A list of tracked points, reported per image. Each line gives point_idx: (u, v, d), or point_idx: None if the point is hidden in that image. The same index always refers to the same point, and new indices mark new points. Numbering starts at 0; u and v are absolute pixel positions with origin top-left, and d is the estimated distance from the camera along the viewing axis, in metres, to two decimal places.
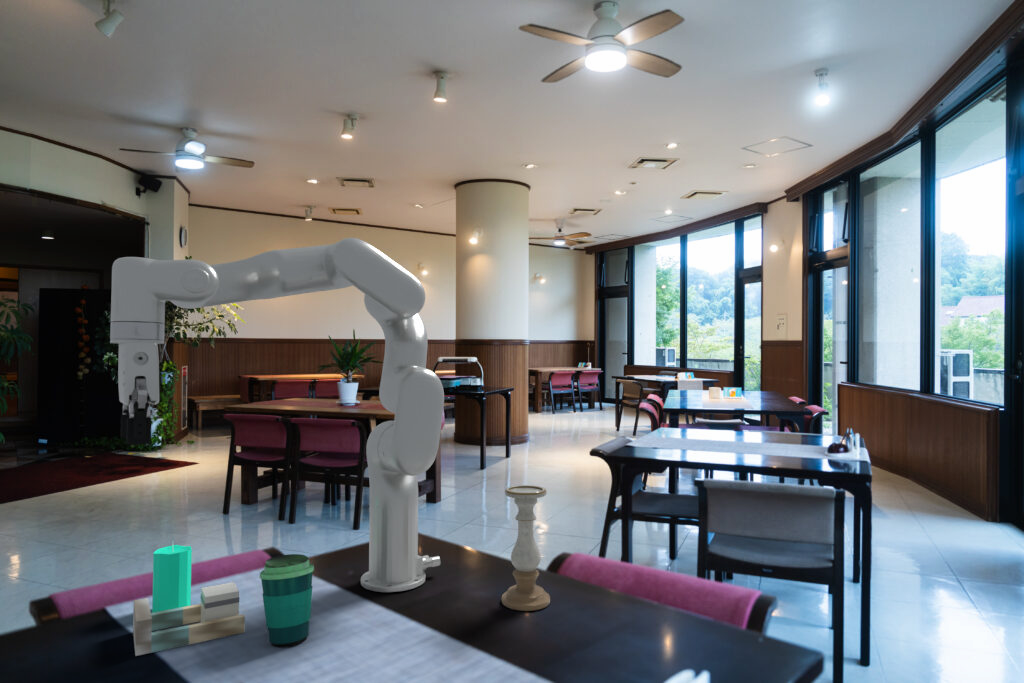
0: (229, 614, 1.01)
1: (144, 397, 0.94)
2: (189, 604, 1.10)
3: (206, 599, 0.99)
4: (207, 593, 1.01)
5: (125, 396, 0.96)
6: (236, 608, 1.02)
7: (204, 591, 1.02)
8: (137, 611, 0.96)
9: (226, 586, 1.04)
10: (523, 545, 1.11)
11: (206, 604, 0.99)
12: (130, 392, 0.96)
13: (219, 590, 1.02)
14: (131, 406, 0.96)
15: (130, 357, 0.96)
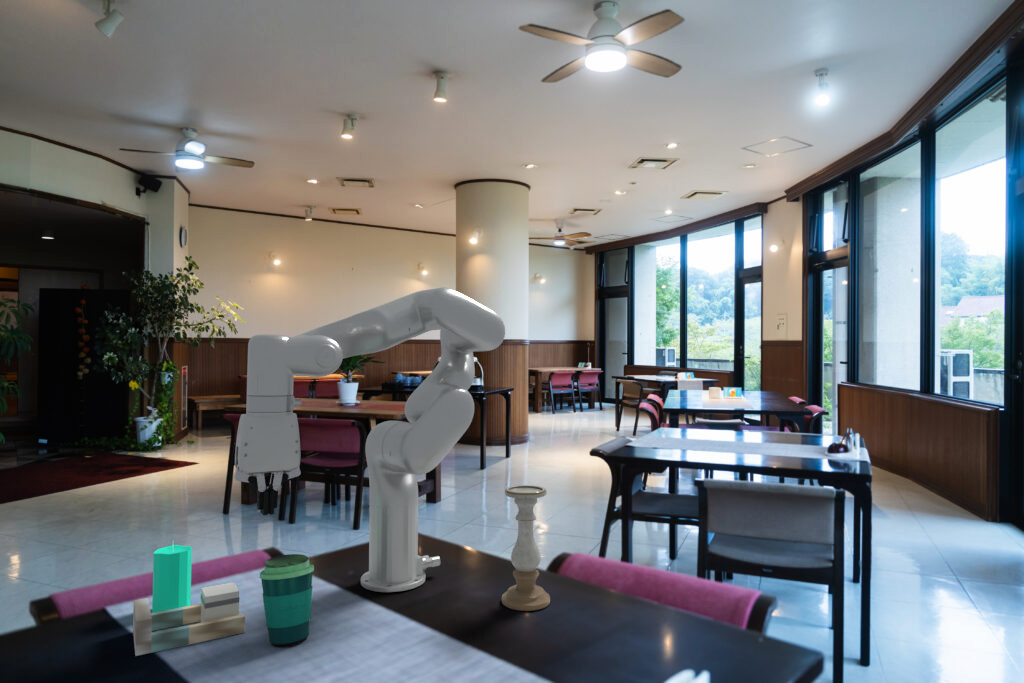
0: (229, 614, 1.01)
1: None
2: (189, 604, 1.10)
3: (206, 599, 0.99)
4: (207, 593, 1.01)
5: (298, 462, 1.08)
6: (236, 608, 1.02)
7: (204, 591, 1.02)
8: (137, 611, 0.96)
9: (226, 586, 1.04)
10: (523, 545, 1.11)
11: (206, 604, 0.99)
12: None
13: (219, 590, 1.02)
14: (281, 480, 1.08)
15: (298, 427, 1.09)
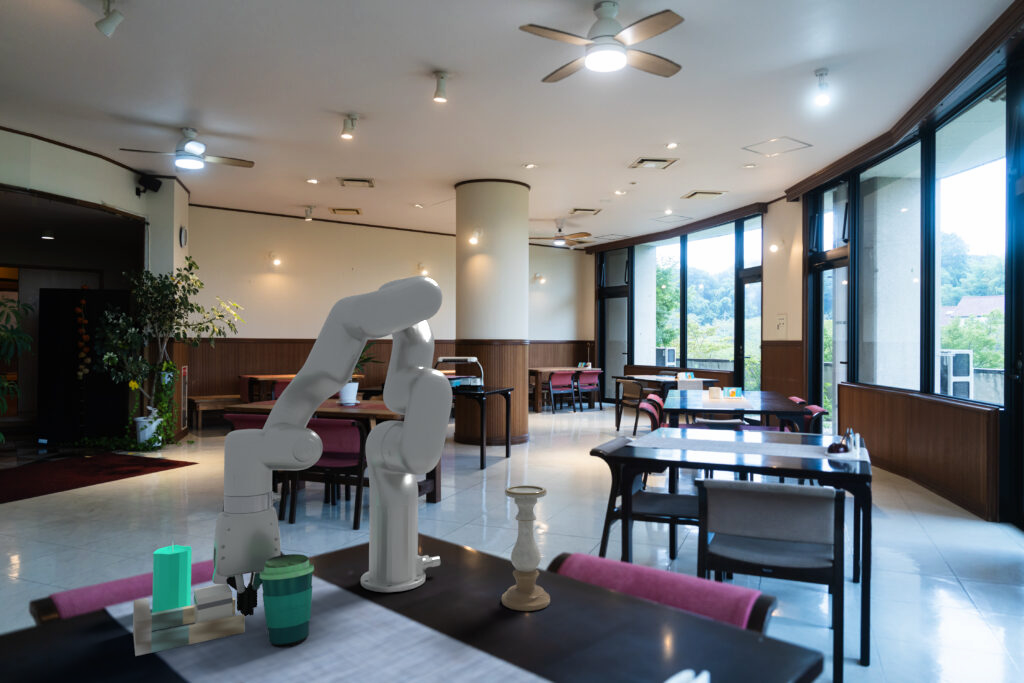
0: (223, 614, 1.01)
1: None
2: (189, 604, 1.10)
3: (199, 600, 0.99)
4: (200, 594, 1.01)
5: None
6: (229, 609, 1.01)
7: (197, 592, 1.01)
8: (137, 611, 0.96)
9: (219, 587, 1.04)
10: (523, 545, 1.11)
11: (199, 605, 0.99)
12: None
13: (212, 591, 1.02)
14: (260, 579, 1.05)
15: None
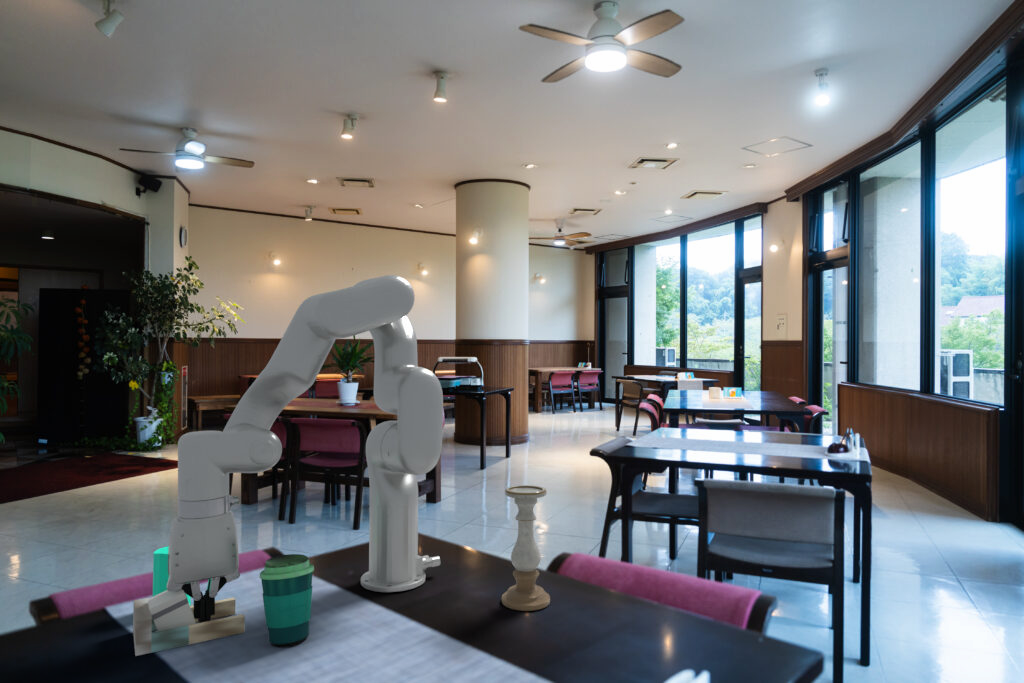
0: (182, 616, 0.98)
1: None
2: (189, 604, 1.10)
3: (151, 611, 0.95)
4: (152, 603, 0.97)
5: (236, 565, 1.03)
6: (187, 609, 0.98)
7: (149, 602, 0.98)
8: (137, 611, 0.96)
9: None
10: (523, 545, 1.11)
11: (153, 615, 0.95)
12: None
13: (164, 597, 0.98)
14: (218, 585, 1.02)
15: (235, 528, 1.03)
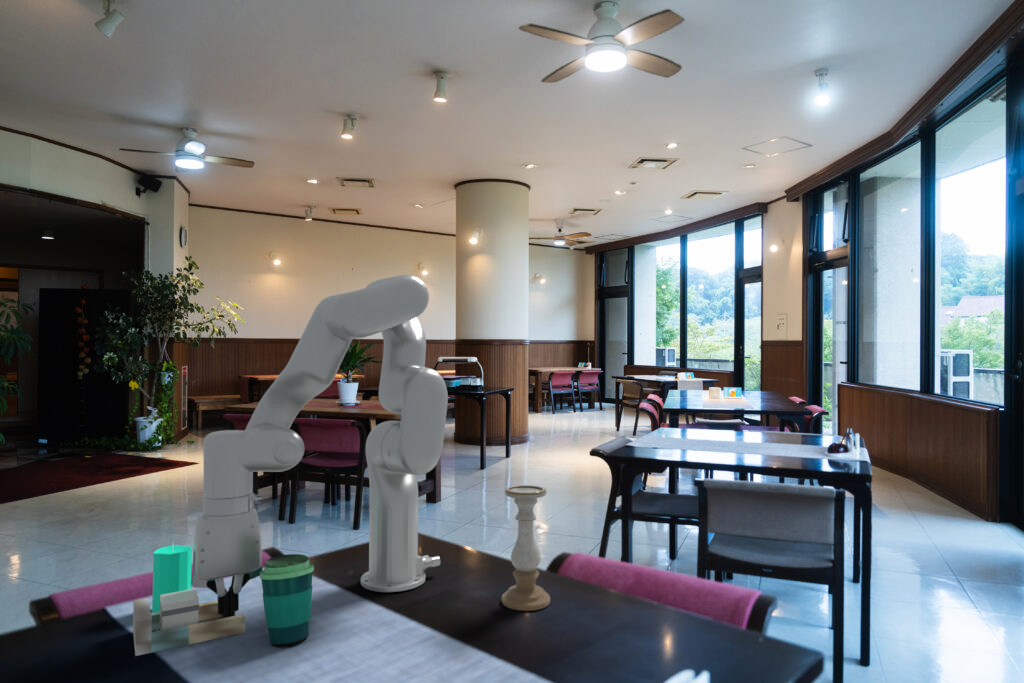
0: (188, 622, 0.98)
1: None
2: None
3: (163, 607, 0.96)
4: (166, 600, 0.98)
5: (260, 562, 1.05)
6: (195, 616, 0.99)
7: (162, 598, 0.99)
8: (137, 611, 0.96)
9: (186, 593, 1.01)
10: (523, 545, 1.11)
11: (163, 612, 0.96)
12: None
13: (178, 597, 0.99)
14: (242, 582, 1.04)
15: None
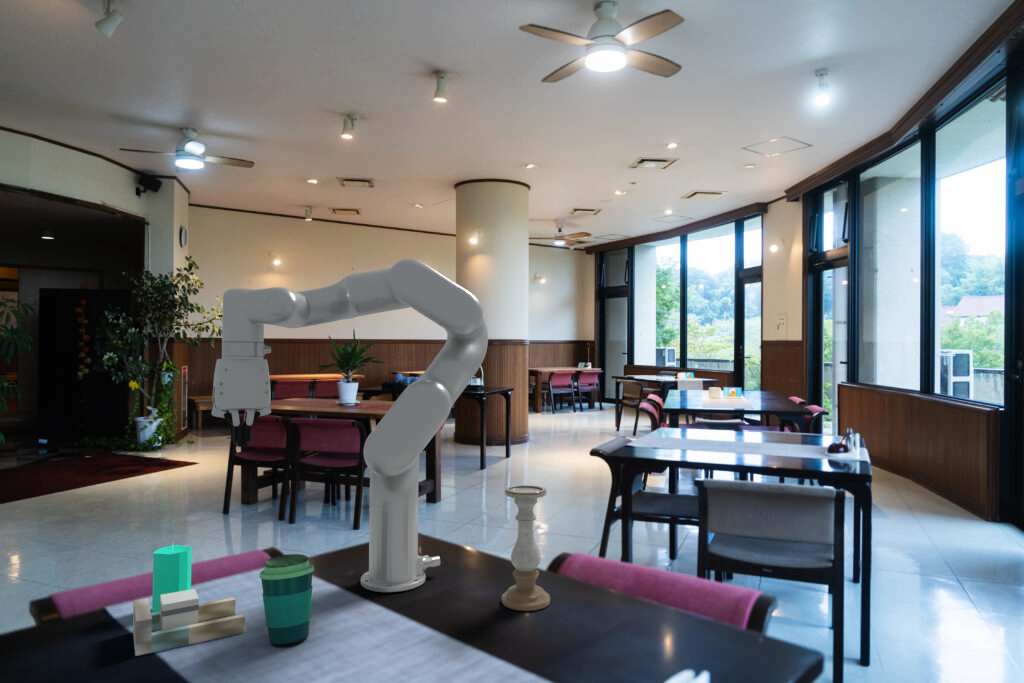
0: (188, 622, 0.98)
1: None
2: None
3: (163, 607, 0.96)
4: (166, 600, 0.98)
5: (269, 401, 1.23)
6: (195, 616, 0.99)
7: (162, 598, 0.99)
8: (137, 611, 0.96)
9: (186, 593, 1.01)
10: (523, 545, 1.11)
11: (163, 612, 0.96)
12: (261, 408, 1.23)
13: (178, 597, 0.99)
14: (253, 416, 1.22)
15: (268, 371, 1.24)
